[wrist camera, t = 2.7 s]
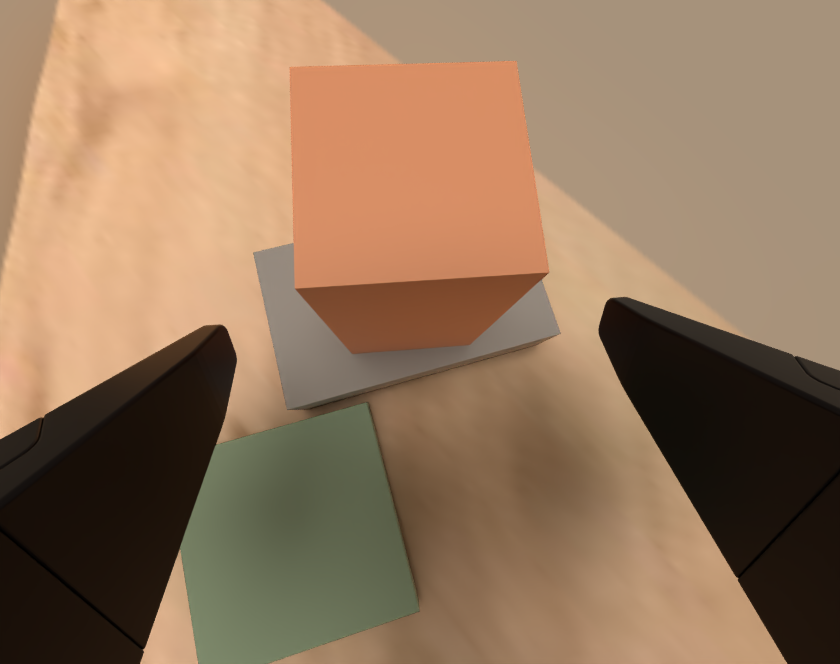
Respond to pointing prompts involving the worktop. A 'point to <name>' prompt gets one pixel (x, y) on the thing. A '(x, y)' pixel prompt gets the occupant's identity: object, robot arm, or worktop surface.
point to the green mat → (294, 542)
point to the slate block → (359, 373)
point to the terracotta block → (412, 201)
